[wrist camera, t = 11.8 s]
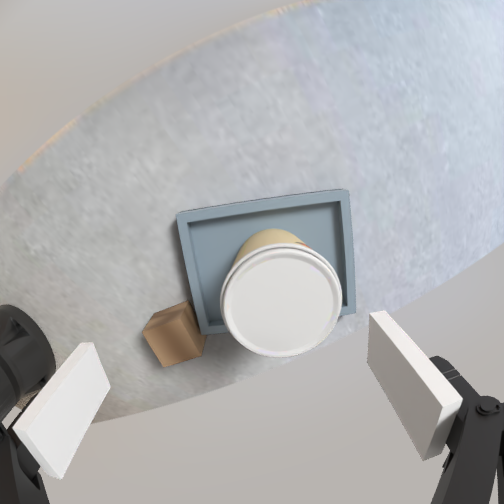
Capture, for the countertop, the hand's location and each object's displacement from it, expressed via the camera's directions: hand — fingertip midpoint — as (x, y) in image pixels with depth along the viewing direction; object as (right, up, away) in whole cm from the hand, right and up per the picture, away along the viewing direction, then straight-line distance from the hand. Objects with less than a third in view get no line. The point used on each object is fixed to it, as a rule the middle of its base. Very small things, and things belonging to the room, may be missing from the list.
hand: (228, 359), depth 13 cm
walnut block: (-8, -4, +24) cm, 25 cm away
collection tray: (+3, +4, +22) cm, 22 cm away
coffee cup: (+3, +4, +21) cm, 22 cm away
